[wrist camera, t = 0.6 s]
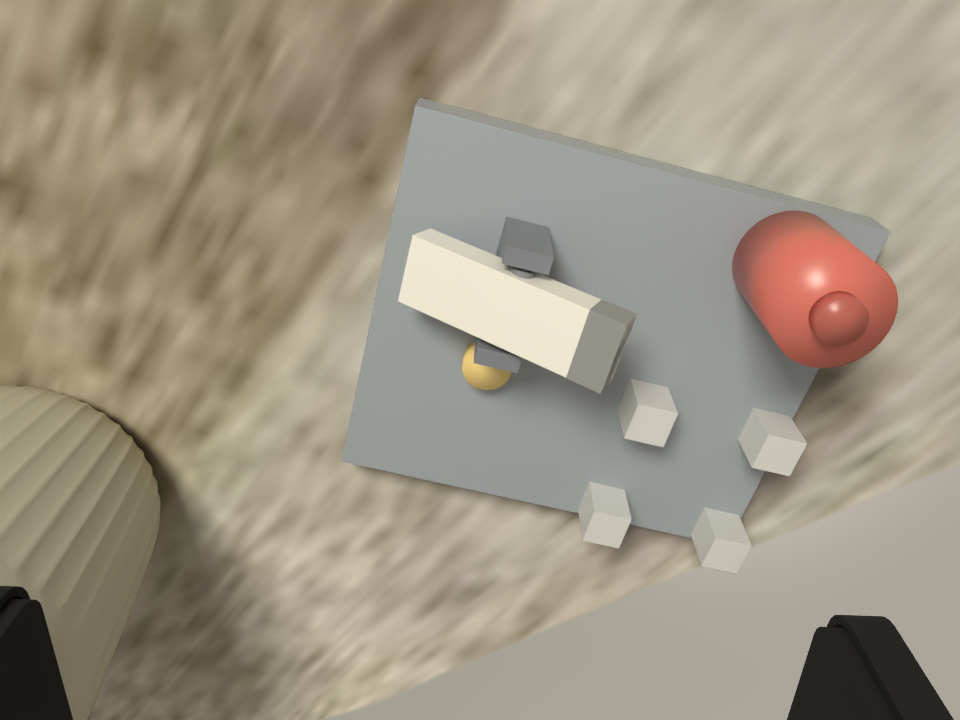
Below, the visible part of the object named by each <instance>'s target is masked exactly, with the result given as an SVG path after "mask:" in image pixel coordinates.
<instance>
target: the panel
mask: <svg viewBox="0 0 960 720" xmlns="http://www.w3.org/2000/svg"><path fill="white" fill-rule="evenodd" d="M791 210H797V211H805V212H809V213H812V214H815V215H816V216H818V217H820V218H822V219H823V220H824V221H826V222H827V223H828V224H829V225H830V226H832V227H833V228H834V229H835V230H837V231H838V232H839V233H840V234H841V235H843V236H844V237H845V238H846V239H847V240H849V241H850V242H851V243H852V244H854V245H855V246H856V247H857V248H858V249H860V250H861V251H862V252H863V253H865V254H866V255H867V256H868V257H869V258H871V259H872V260H873V261H874V262H875V261H876V259H877V257H878V255H879V253H880V251H881V249H882V248H883V246H884V244H885V242H886V240H887V238H888V236H889V234H890V231H889V230H888V229H886V228H885V227H883V226H882V225H881V224H879V223H878V222H876V221H875V220H874V219H872V218H869V217H865V216H861V215H858V214H854V213H850V212H846V211H843V210H839V209H835V208H831V207H828V206H824V205H820V204H816V203H813V202H809V201H805V200H801V199H798V198H794V197H790V196H786V195H783V194H779V193H775V192H771V191H768V190H764V189H760V188H756V187H753V186H749V185H745V184H741V183H738V182H734V181H730V180H726V179H723V178H719V177H715V176H711V175H708V174H704V173H700V172H696V171H693V170H689V169H685V168H681V167H678V166H674V165H670V164H666V163H663V162H659V161H655V160H651V159H648V158H644V157H640V156H636V155H633V154H629V153H625V152H621V151H618V150H614V149H610V148H606V147H603V146H599V145H595V144H591V143H588V142H584V141H580V140H576V139H573V138H569V137H565V136H561V135H558V134H554V133H550V132H546V131H543V130H539V129H535V128H531V127H528V126H524V125H520V124H516V123H513V122H509V121H505V120H501V119H498V118H494V117H490V116H486V115H483V114H479V113H475V112H471V111H468V110H464V109H460V108H456V107H453V106H449V105H445V104H441V103H438V102H434V101H430V100H426V99H423V98H419V100H418V102H417V103H416V105H415V110H414V115H413V119H412V124H411V129H410V134H409V139H408V143H407V148H406V153H405V158H404V163H403V168H402V172H401V177H400V182H399V187H398V192H397V196H396V201H395V206H394V211H393V216H392V221H391V225H390V230H389V235H388V240H387V245H386V249H385V254H384V259H383V264H382V269H381V274H380V278H379V283H378V288H377V293H376V298H375V302H374V307H373V312H372V317H371V322H370V327H369V331H368V336H367V341H366V346H365V351H364V356H363V360H362V365H361V370H360V375H359V380H358V384H357V389H356V394H355V399H354V404H353V409H352V413H351V418H350V423H349V428H348V433H347V437H346V442H345V447H344V452H343V457H342V462H346V463H351V464H355V465H360V466H364V467H369V468H373V469H378V470H383V471H387V472H392V473H396V474H401V475H405V476H410V477H415V478H419V479H424V480H428V481H433V482H437V483H442V484H447V485H451V486H456V487H460V488H465V489H469V490H474V491H479V492H483V493H488V494H492V495H497V496H501V497H506V498H511V499H515V500H520V501H524V502H529V503H533V504H538V505H543V506H547V507H552V508H556V509H561V510H565V511H570V512H575V513H579V520H580V527H581V534H582V541H586V542H591V543H596V544H600V545H605V546H610V547H614V548H619V547H620V545H621V543H622V540H623V538H624V536H625V533H626V531H627V529H628V527H629V525H634V526H639V527H643V528H648V529H652V530H657V531H661V532H666V533H671V534H675V535H680V536H684V537H689V538H692V539H693V542H694V545H695V548H696V552H697V555H698V558H699V561H700V564H701V566H703V567H707V568H712V569H716V570H721V571H726V572H730V573H735V574H737V572H738V570H739V569H740V567H741V565H742V563H743V561H744V559H745V558H746V556H747V554H748V552H749V550H750V548H751V547H752V545H751V543H750V540H749V538H748V536H747V533H746V531H745V529H744V526H743V524H742V522H741V517H742V515H743V513H744V511H745V510H746V508H747V506H748V504H749V502H750V500H751V498H752V496H753V494H754V492H755V490H756V489H757V487H758V485H759V483H760V481H761V479H762V477H763V475H764V473H765V471H768V472H773V473H777V474H781V475H786V476H790V475H791V473H792V471H793V469H794V467H795V465H796V464H797V462H798V460H799V458H800V456H801V454H802V453H803V451H804V449H805V447H806V445H807V443H806V441H805V439H804V438H803V436H802V435H801V433H800V431H799V430H798V428H797V427H796V425H795V423H794V422H793V418H794V416H795V414H796V412H797V410H798V408H799V406H800V404H801V402H802V401H803V399H804V397H805V395H806V393H807V391H808V389H809V387H810V385H811V383H812V381H813V380H814V378H815V376H816V374H817V372H818V370H819V368H813V367H808V366H805V365H802V364H799V363H797V362H795V361H793V360H792V359H790V358H789V357H788V356H787V355H785V354H784V353H783V351H782V350H781V349H780V348H779V346H778V345H777V344H776V342H775V341H774V339H773V338H772V337H771V335H770V334H769V332H768V331H767V329H766V328H765V327H764V325H763V324H762V322H761V321H760V320H759V318H758V317H757V315H756V314H755V313H754V311H753V310H752V308H751V307H750V306H749V304H748V303H747V301H746V300H745V299H744V297H743V296H742V294H741V293H740V291H739V290H738V288H737V286H736V284H735V282H734V279H733V274H732V261H733V257H734V253H735V250H736V248H737V246H738V244H739V242H740V240H741V239H742V237H743V236H744V235H745V234H746V232H747V231H748V230H749V229H750V228H751V227H752V226H754V225H755V224H756V223H758V222H759V221H761V220H762V219H764V218H766V217H768V216H770V215H772V214H775V213H779V212H783V211H791ZM430 228H431V229H433V230H436V231H438V232H441V233H443V234H445V235H448V236H450V237H453V238H455V239H457V240H460V241H462V242H465V243H467V244H469V245H472V246H474V247H477V248H479V249H481V250H484V251H486V252H489V253H491V254H493V255H496V256H498V257H501V258H502V264H505V265H509V266H513V267H517V268H521V269H525V270H529V271H533V272H537V273H539V274H541V275H544V276H546V277H549V278H551V279H553V280H556V281H558V282H561V283H563V284H565V285H568V286H570V287H573V288H575V289H577V290H580V291H582V292H585V293H587V294H589V295H592V296H594V297H597V298H599V299H601V300H602V299H603V300H605V301H608V302H610V303H613V304H615V305H617V306H620V307H622V308H625V309H627V310H630V311H632V312H634V313H637V317H636V319H635V322H634V325H633V327H632V330H631V332H630V335H629V338H628V340H627V343H626V345H625V348H624V351H623V353H622V356H621V358H620V361H619V364H618V366H617V369H616V371H615V374H614V377H613V379H612V381H611V382H610V383H609V385H608V386H607V387H606V388H605V390H604V391H603V392H602V393H601V394H599V393H597V392H595V391H593V390H591V389H588V388H586V387H584V386H582V385H580V384H577V383H575V382H573V381H571V380H569V379H566V377H564V376H561V375H559V374H557V373H555V372H553V371H550V370H548V369H546V368H544V367H542V366H539V365H537V364H535V363H533V362H531V361H528V360H526V359H524V358H522V357H520V356H517V355H515V354H513V353H511V352H509V351H506V350H504V349H500V348H497V347H495V346H494V345H492V344H491V343H489V342H487V341H484V340H482V339H480V338H478V337H476V336H473V335H471V334H469V333H467V332H465V331H462V330H460V329H458V328H456V327H454V326H451V325H449V324H447V323H445V322H443V321H440V320H438V319H436V318H434V317H432V316H429V315H427V314H425V313H423V312H421V311H418V310H416V309H414V308H412V307H410V306H407V305H405V304H403V303H401V302H399V301H398V298H399V294H400V289H401V285H402V280H403V276H404V271H405V267H406V262H407V258H408V253H409V249H410V244H411V240H412V236H413V235H414V234H417V233H419V232H422V231H425V230H427V229H430Z"/></svg>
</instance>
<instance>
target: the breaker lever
mask: <svg viewBox="0 0 960 720" xmlns="http://www.w3.org/2000/svg"><path fill="white" fill-rule="evenodd" d="M398 301H399V302H401V303H403V304H405V305H407V306H410V307H412V308H414V309H416V310H418V311H421V312H423V313H425V314H427V315H429V316H432V317H434V318H436V319H438V320H440V321H443V322H445V323H447V324H449V325H451V326H454V327H456V328H458V329H460V330H462V331H465V332H467V333H469V334H471V335H473V336H476V337H478V338H480V339H482V340H484V341H487V342H489V343H491V344H492V345H494V346H495V347H497V348H500V349H504V350H506V351H509V352H511V353H513V354H515V355H517V356H520V357H522V358H524V359H526V360H528V361H531V362H533V363H535V364H537V365H539V366H542V367H544V368H546V369H548V370H550V371H553V372H555V373H557V374H559V375H561V376H564V377H566V379H569V380H571V381H573V382H575V383H577V384H580V385H582V386H584V387H586V388H588V389H591V390H593V391H595V392H597V393H599V394H601V393H602V392H603V391H604V390H605V388H606V387H607V386H608V385H609V383H610V382H611V381H612V379H613V377H614V374H615V371H616V369H617V366H618V364H619V361H620V358H621V356H622V353H623V351H624V348H625V345H626V343H627V340H628V338H629V335H630V332H631V330H632V327H633V325H634V322H635V319H636V317H637V313H634V312H632V311H630V310H627V309H625V308H622V307H620V306H617V305H615V304H613V303H610V302H608V301H605V300H603V299H602V300H601V299H599V298H597V297H594V296H592V295H589V294H587V293H585V292H582V291H580V290H577V289H575V288H573V287H570V286H568V285H565V284H563V283H561V282H558V281H556V280H553V279H551V278H549V277H546V276H544V275H541V274H539V273H537V272H533V271H529V270H525V269H521V268H517V267H513V266H509V265H505V264H502V258H501V257H498V256H496V255H493V254H491V253H489V252H486V251H484V250H481V249H479V248H477V247H474V246H472V245H469V244H467V243H465V242H462V241H460V240H457V239H455V238H453V237H450V236H448V235H445V234H443V233H441V232H438V231H436V230H433V229H431V228H430V229H427V230H425V231H422V232H419V233H417V234H414V235H413V236H412V240H411V244H410V249H409V253H408V258H407V262H406V267H405V271H404V276H403V280H402V285H401V289H400V294H399V298H398Z"/></svg>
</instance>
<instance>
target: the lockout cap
mask: <svg viewBox="0 0 960 720" xmlns="http://www.w3.org/2000/svg"><path fill="white" fill-rule="evenodd" d="M732 274H733V279H734V282H735V284H736V286H737V288H738V290H739V291H740V293H741V294H742V296H743V297H744V299H745V300H746V301H747V303H748V304H749V306H750V307H751V308H752V310H753V311H754V313H755V314H756V315H757V317H758V318H759V320H760V321H761V322H762V324H763V325H764V327H765V328H766V329H767V331H768V332H769V334H770V335H771V337H772V338H773V339H774V341H775V342H776V344H777V345H778V346H779V348H780V349H781V350H782V351H783V353H784V354H785V355H787V356H788V357H789V358H790V359H792V360H793V361H795V362H797V363H799V364H802V365H805V366H808V367H813V368H832V367H838V366H842V365H846V364H848V363H851V362H854V361H856V360H858V359H860V358H861V357H863V356H865V355H866V354H868V353H869V352H870V351H872V350H873V349H874V348H875V347H876V346H877V345H878V344H879V343H880V342H881V341H882V340H883V339H884V338H885V336H886V335H887V333H888V332H889V330H890V329H891V327H892V325H893V322H894V320H895V317H896V313H897V308H898V296H897V290H896V287H895V284H894V282H893V280H892V279H891V277H890V276H889V274H888V273H887V272H886V271H885V270H884V269H883V268H882V267H880V266H879V265H878V264H877V263H875V262H874V261H873V260H872V259H871V258H869V257H868V256H867V255H866V254H865V253H863V252H862V251H861V250H860V249H858V248H857V247H856V246H855V245H854V244H852V243H851V242H850V241H849V240H847V239H846V238H845V237H844V236H843V235H841V234H840V233H839V232H838V231H837V230H835V229H834V228H833V227H832V226H830V225H829V224H828V223H827V222H826V221H824V220H823V219H822V218H820V217H818V216H816V215H815V214H812V213H809V212H805V211H797V210H791V211H783V212H779V213H775V214H772V215H770V216H768V217H766V218H764V219H762V220H761V221H759V222H758V223H756V224H755V225H754V226H752V227H751V228H750V229H749V230H748V231H747V232H746V234H745V235H744V236H743V237H742V239H741V240H740V242H739V244H738V246H737V248H736V250H735V253H734V257H733V261H732Z"/></svg>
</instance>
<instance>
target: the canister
mask: <svg viewBox="0 0 960 720" xmlns="http://www.w3.org/2000/svg"><path fill="white" fill-rule="evenodd" d="M160 504H161V502H160V496H159V493H158V483H157V481H156V479H155V477H154V476H153V473H152V467H151V465H150V464H149V463H148V462H147V461H146V459H145V457H144V453H143V451H142V450H141V449H140V448H138V446H137V445H136V444H135V442H134V441H133V438H132V437H131V436H130V435H127V434H126V433H125V432H124V431H123V430H122V428H121V426H120V425H119V424H117V423H115V422H113V421H112V420H110V419H109V418H108V417H107V416H106V414H105V413H102V412H99V411H97V410H95V409H94V408H92V407H91V406H90V404H88V403H83V402H80V401H78V400H76V399H74V398H73V397H72V396H70V395H62V394H59V393H57V392H55V391H54V390H47V389H46V390H43V389H38V388H36V387H34V386H24V387H19V386H16V385H5V386H1V387H0V586H18V587H23V588H24V589H25V590H27V592H28V594H29V597H30V599H32V600H37V601H39V602H40V604H41V606H42V608H43V612H44V615H45V619H46V623H47V626H48V630H49V634H50V637H51V641H52V644H53V648H54V652H55V655H56V659H57V663H58V666H59V670H60V673H61V677H62V681H63V684H64V688H65V692H66V695H67V699H68V703H69V706H70V710H71V713H72V717H73V720H87V719H88V717H89V715H90V712H91V710H92V708H93V705H94V703H95V700H96V698H97V695H98V693H99V690H100V688H101V685H102V683H103V680H104V677H105V675H106V672H107V670H108V667H109V665H110V662H111V660H112V657H113V655H114V652H115V650H116V648H117V645H118V643H119V640H120V638H121V635H122V633H123V630H124V628H125V625H126V623H127V620H128V618H129V615H130V612H131V610H132V607H133V605H134V602H135V600H136V597H137V594H138V591H139V589H140V586H141V583H142V580H143V578H144V575H145V572H146V569H147V567H148V564H149V561H150V558H151V555H152V553H153V549H154V546H155V542H156V538H157V533H158V530H159V525H160Z"/></svg>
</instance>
